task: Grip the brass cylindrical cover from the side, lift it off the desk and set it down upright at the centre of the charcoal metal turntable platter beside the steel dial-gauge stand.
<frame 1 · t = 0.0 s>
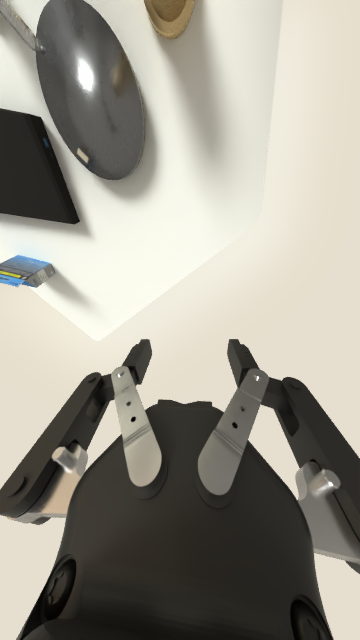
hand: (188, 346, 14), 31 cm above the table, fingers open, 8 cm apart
label tape box: (37, 263, 42), on the table
external hard drive: (6, 169, 27), on the table
turntable platter: (97, 113, 20), point 2 cm above the table, hinge at 0.0°
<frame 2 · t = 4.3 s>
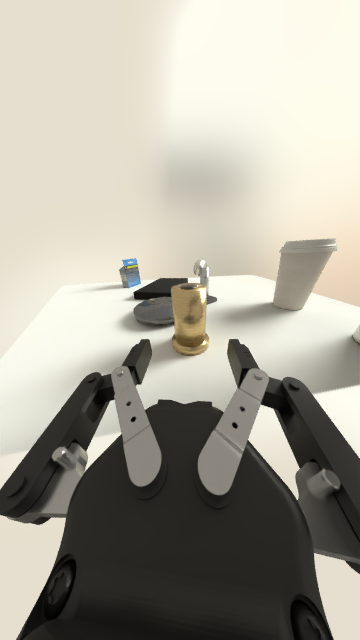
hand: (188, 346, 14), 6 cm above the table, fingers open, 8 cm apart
brass cover: (190, 343, 24), on the table
dial gauge stand: (204, 300, 43), on the table
label tape box: (132, 285, 68), on the table
coffee cup: (286, 305, 36), on the table
external hard drive: (165, 291, 57), on the table
turntable platter: (162, 308, 35), point 2 cm above the table, hinge at 0.0°
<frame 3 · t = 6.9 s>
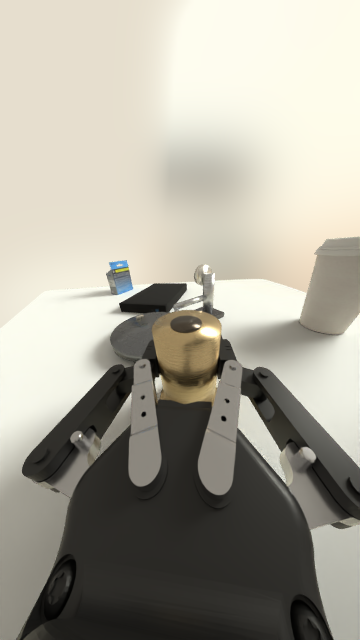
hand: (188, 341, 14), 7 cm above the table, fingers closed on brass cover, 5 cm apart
brass cover: (189, 402, 15), on the table, touching gripper
dial gauge stand: (207, 315, 34), on the table
label tape box: (123, 292, 59), on the table
coffee cup: (319, 326, 27), on the table
external hard drive: (159, 300, 47), on the table
turntable platter: (151, 330, 25), point 2 cm above the table, hinge at 0.0°
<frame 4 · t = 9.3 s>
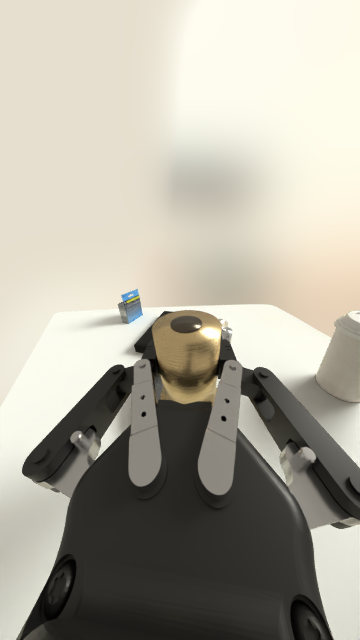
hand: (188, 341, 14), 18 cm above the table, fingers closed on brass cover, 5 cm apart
brass cover: (190, 402, 15), point 11 cm above the table, touching gripper
dial gauge stand: (222, 363, 34), on the table
label tape box: (133, 318, 60), on the table
coffee cup: (336, 386, 27), on the table
external hard drive: (171, 334, 48), on the table
turntable platter: (171, 392, 26), point 2 cm above the table, hinge at 0.0°
when the fingers open (11 cm above the table, at t = 11.8 s): brass cover drops 1 cm, resting on turntable platter.
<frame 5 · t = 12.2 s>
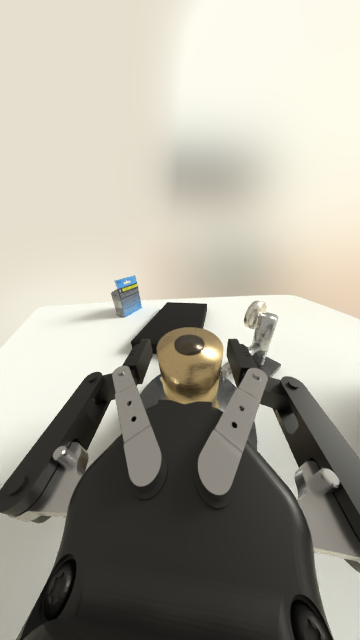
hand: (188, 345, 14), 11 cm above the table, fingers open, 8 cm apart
brass cover: (190, 412, 16), point 3 cm above the table, touching turntable platter
dial gauge stand: (254, 365, 24), on the table
label tape box: (130, 312, 50), on the table
external hard drive: (177, 328, 38), on the table
turntable platter: (190, 414, 16), point 2 cm above the table, hinge at 0.0°, touching brass cover
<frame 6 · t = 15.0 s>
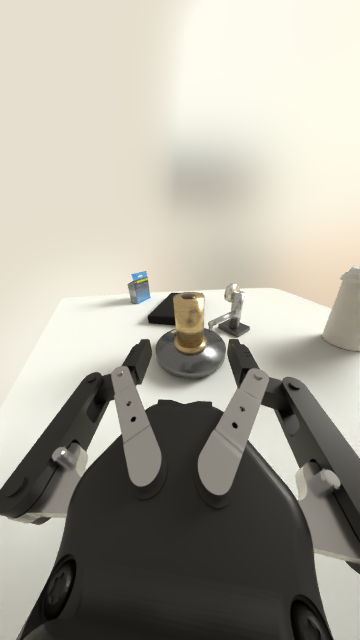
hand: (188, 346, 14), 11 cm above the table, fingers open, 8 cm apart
brass cover: (190, 344, 27), point 3 cm above the table, touching turntable platter
dial gauge stand: (233, 328, 36), on the table
label tape box: (141, 300, 61), on the table
coffee cup: (342, 342, 29), on the table
external hard drive: (180, 310, 50), on the table
turntable platter: (190, 346, 28), point 2 cm above the table, hinge at 0.0°, touching brass cover
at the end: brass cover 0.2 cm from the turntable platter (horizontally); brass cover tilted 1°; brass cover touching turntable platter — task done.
